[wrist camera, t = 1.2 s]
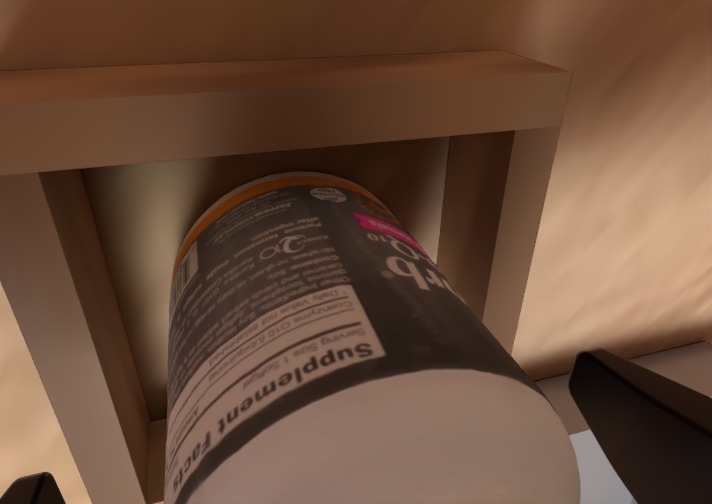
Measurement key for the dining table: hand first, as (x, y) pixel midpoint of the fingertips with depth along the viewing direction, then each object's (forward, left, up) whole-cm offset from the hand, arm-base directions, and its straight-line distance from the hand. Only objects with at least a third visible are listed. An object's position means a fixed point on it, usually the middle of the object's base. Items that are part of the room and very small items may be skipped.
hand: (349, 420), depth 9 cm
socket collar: (0, 0, -5) cm, 5 cm away
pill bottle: (0, 0, -5) cm, 5 cm away
